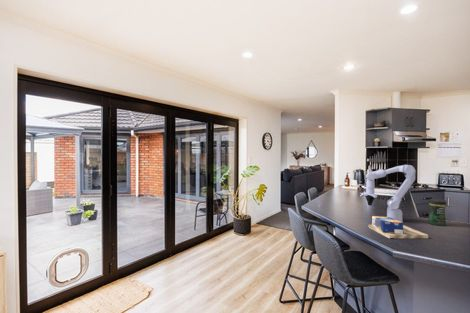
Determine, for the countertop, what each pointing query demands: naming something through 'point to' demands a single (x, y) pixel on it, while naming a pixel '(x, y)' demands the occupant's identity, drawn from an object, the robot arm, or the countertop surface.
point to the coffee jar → (437, 212)
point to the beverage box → (388, 224)
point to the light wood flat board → (407, 233)
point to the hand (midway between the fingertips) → (369, 205)
